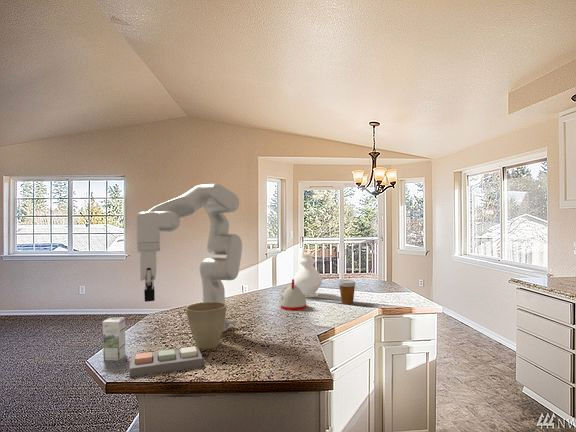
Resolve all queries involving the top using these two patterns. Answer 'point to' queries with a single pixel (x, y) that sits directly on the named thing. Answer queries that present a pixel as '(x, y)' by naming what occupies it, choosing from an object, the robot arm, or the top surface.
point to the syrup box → (114, 338)
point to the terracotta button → (143, 358)
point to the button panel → (165, 364)
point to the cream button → (188, 352)
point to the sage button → (166, 355)
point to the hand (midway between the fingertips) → (149, 298)
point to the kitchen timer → (293, 298)
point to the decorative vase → (308, 277)
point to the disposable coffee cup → (347, 291)
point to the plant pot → (206, 323)
